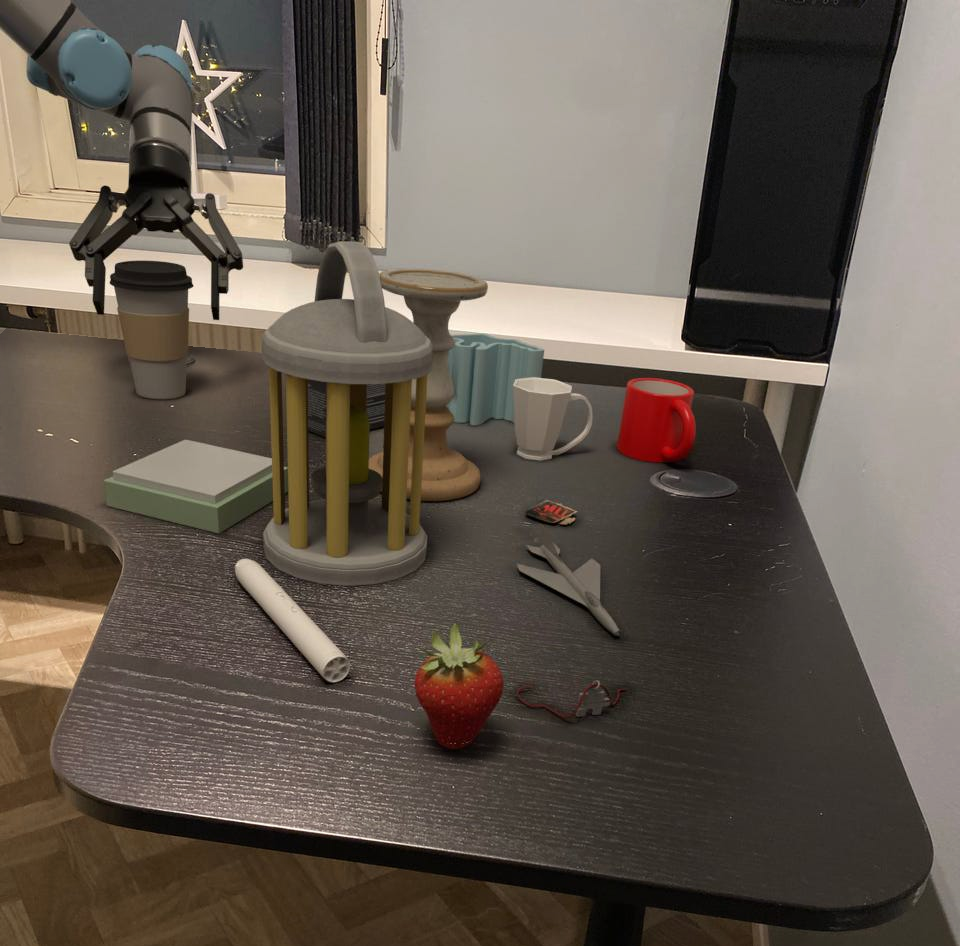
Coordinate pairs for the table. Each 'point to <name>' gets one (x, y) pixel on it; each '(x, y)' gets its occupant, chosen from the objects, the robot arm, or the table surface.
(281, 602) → the white cylindrical rod
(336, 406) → the lantern
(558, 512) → the matchbox
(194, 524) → the scale
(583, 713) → the pendant
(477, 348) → the squiggly pen holder
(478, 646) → the fruit
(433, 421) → the candle holder
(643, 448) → the mug
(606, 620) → the toy airplane
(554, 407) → the cup
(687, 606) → the table surface
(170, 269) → the coffee cup
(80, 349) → the table surface
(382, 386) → the small box
